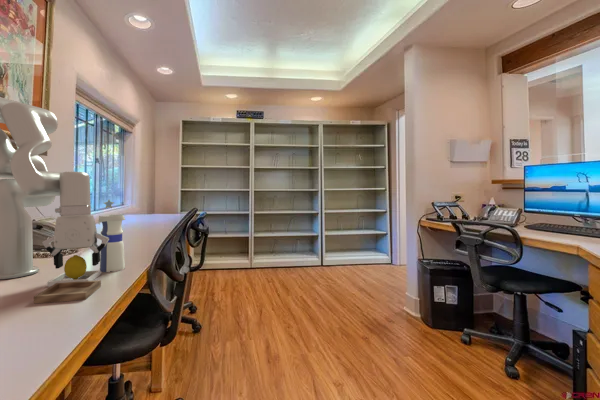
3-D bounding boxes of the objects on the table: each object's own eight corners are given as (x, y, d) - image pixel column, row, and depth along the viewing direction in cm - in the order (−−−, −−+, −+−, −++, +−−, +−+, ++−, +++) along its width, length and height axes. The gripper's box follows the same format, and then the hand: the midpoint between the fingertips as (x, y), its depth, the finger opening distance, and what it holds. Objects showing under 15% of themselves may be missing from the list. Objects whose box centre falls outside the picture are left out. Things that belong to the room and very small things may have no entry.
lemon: (74, 283, 88) (74, 257, 88) (59, 282, 90) (59, 256, 89) (91, 278, 94) (90, 253, 94) (76, 277, 95) (76, 252, 95)
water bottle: (91, 271, 102) (90, 199, 101) (113, 265, 110) (113, 199, 109) (109, 273, 100) (109, 200, 99) (130, 267, 108) (130, 199, 107)
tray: (33, 303, 73) (33, 296, 73) (56, 289, 83) (56, 283, 83) (85, 299, 76) (85, 292, 76) (100, 286, 86) (100, 280, 86)
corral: (47, 286, 85) (47, 281, 85) (64, 276, 95) (64, 272, 95) (88, 283, 88) (88, 279, 88) (100, 274, 98) (100, 270, 98)
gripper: (35, 213, 85) (37, 271, 85) (103, 211, 90) (105, 266, 90) (48, 211, 92) (50, 265, 92) (111, 210, 97) (113, 261, 98)
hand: (77, 266), depth 91 cm, fingers open, 9 cm apart
